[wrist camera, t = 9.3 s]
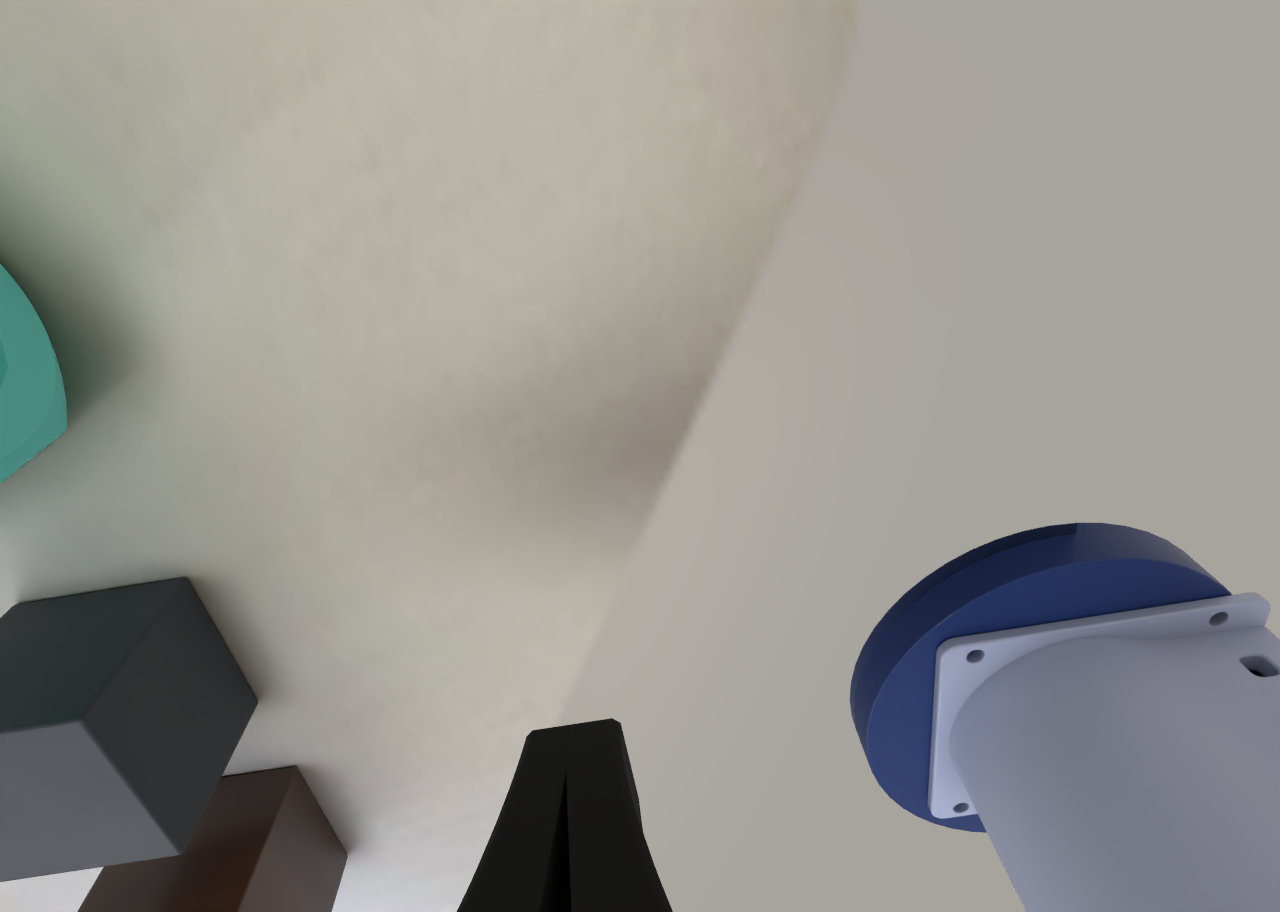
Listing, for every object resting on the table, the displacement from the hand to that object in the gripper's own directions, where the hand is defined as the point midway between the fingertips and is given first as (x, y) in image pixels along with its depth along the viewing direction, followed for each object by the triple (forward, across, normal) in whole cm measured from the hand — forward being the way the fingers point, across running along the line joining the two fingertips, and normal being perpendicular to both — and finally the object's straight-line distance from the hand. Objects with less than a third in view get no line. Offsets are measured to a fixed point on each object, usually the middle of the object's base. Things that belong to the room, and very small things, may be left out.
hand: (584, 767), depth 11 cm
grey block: (+9, +14, +4) cm, 17 cm away
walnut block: (+9, +14, +12) cm, 21 cm away
